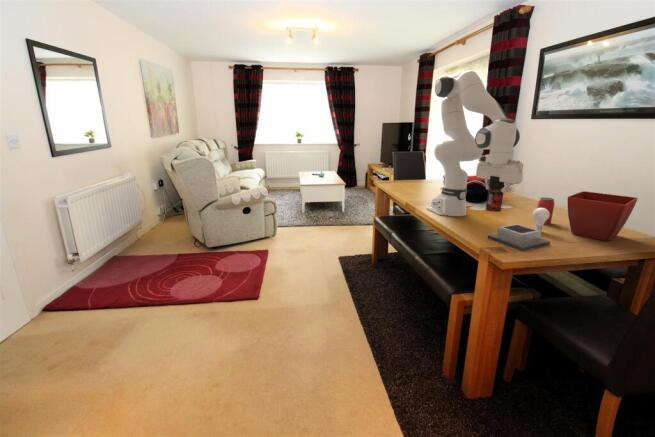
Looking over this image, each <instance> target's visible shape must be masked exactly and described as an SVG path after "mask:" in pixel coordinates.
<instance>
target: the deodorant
mask: <svg viewBox="0 0 655 437" xmlns="http://www.w3.org/2000/svg"><path fill="white" fill-rule="evenodd" d="M499 179H500V177H495V176H490V182H489V189H488V190H487V197H486V205H485V210H486V211H488V212H492V213H495V212H496V213H500V212H501V211H502V206H503V198H504V193H501V188H503V187H504V186H505V185H504V182H500V181H499Z"/></svg>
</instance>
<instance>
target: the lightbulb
mask: <svg viewBox="0 0 655 437" xmlns="http://www.w3.org/2000/svg"><path fill="white" fill-rule="evenodd" d="M532 217H533V220H534V223H535V228H534V229H536V230H540V231H541V232H543V231H542V230H543V226H544V225H545V224H544V223H545V221H547V220H548V218H549V217H550V213H549V211H548V210H547V209H545V208H537V207H536V208H535V209H534V210H533V212H532Z"/></svg>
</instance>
